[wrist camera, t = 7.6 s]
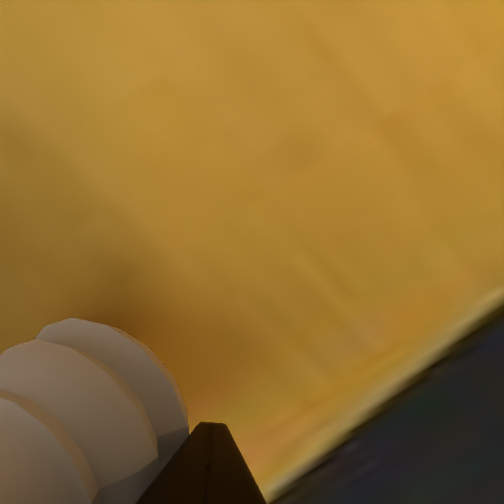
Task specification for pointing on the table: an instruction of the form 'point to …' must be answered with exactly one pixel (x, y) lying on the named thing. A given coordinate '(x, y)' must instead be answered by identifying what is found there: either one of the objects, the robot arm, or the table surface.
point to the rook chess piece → (85, 416)
